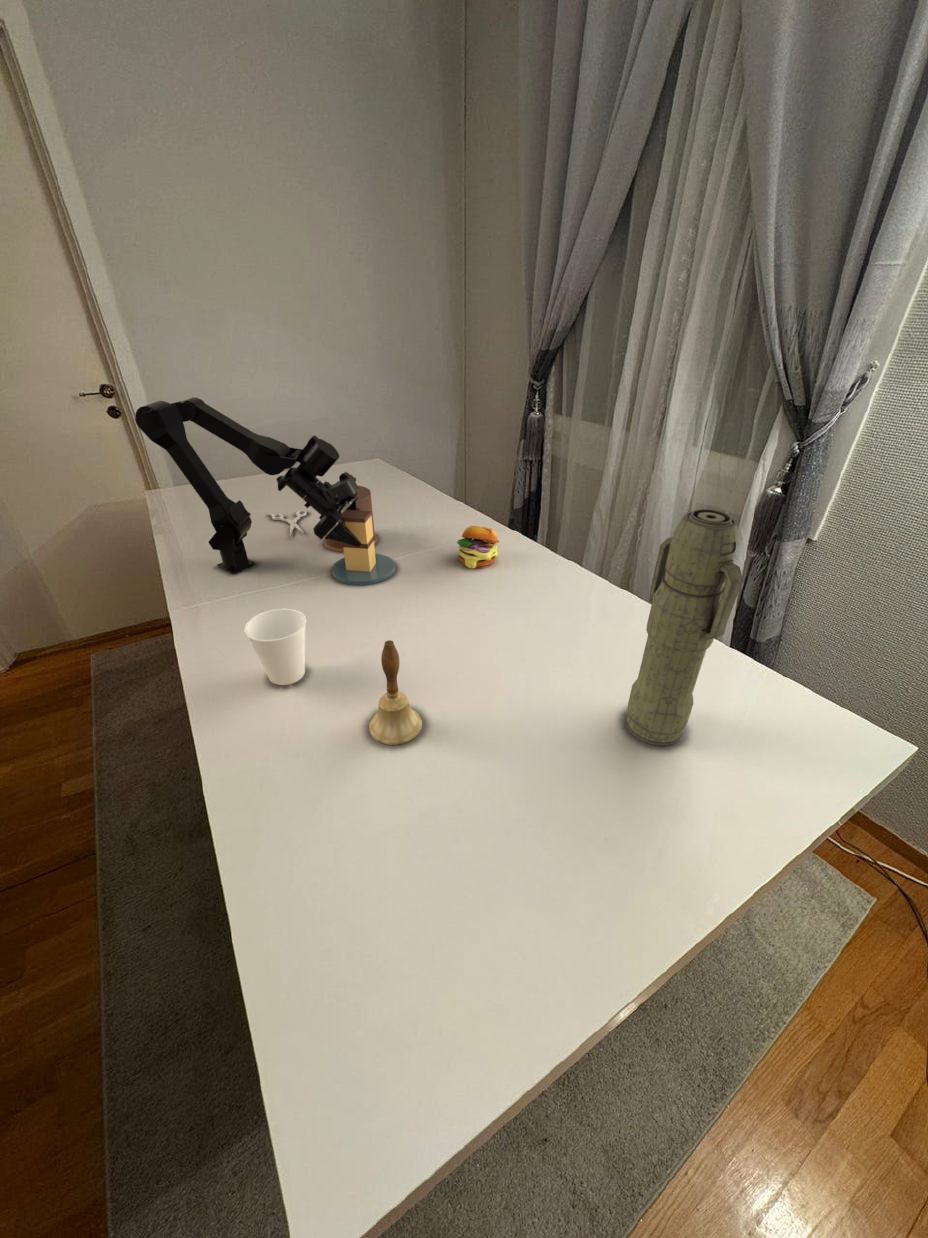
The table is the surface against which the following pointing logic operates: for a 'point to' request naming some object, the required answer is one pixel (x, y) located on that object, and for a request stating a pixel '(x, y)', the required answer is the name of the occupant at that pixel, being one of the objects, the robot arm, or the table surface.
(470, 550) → the cheeseburger
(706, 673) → the table surface
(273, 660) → the cup
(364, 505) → the cake
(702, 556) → the thermos
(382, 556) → the plate
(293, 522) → the scissors
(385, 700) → the hand bell
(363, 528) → the cake slice
